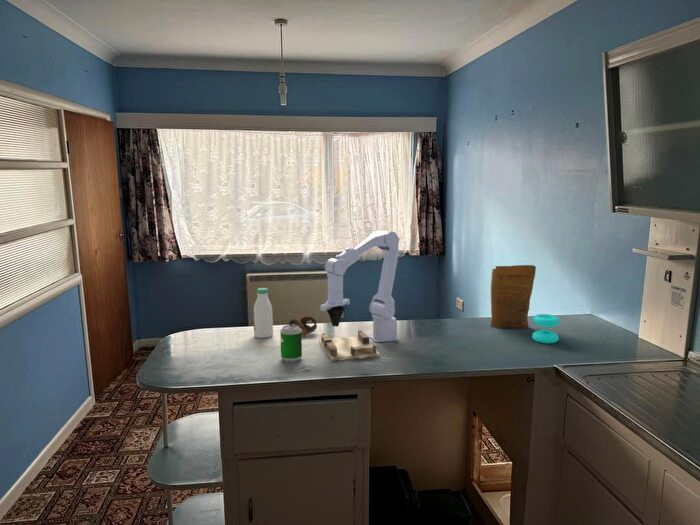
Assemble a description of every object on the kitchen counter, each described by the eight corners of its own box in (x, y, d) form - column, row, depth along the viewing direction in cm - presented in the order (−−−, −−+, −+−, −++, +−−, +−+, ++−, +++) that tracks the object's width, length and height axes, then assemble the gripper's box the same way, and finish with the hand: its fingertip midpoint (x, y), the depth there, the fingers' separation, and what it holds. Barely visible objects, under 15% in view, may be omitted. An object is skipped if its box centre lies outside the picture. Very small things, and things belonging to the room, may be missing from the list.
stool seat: (362, 338, 202) (362, 329, 201) (379, 356, 181) (379, 346, 180) (319, 342, 197) (318, 333, 196) (331, 361, 176) (331, 350, 176)
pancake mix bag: (534, 330, 214) (538, 266, 209) (489, 329, 215) (492, 265, 211) (530, 325, 220) (533, 263, 216) (486, 324, 222) (489, 263, 217)
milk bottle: (276, 334, 207) (275, 288, 204) (264, 339, 200) (262, 291, 197) (263, 332, 211) (261, 286, 208) (250, 336, 204) (248, 289, 201)
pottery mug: (315, 330, 215) (319, 316, 211) (312, 345, 208) (316, 331, 203) (288, 323, 214) (292, 309, 210) (284, 339, 207) (288, 325, 202)
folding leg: (320, 341, 194) (320, 334, 194) (327, 340, 195) (327, 334, 195) (325, 347, 187) (324, 340, 187) (331, 346, 188) (331, 339, 187)
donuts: (554, 321, 191) (529, 316, 197) (553, 346, 193) (527, 340, 199) (563, 316, 198) (538, 312, 205) (562, 340, 200) (537, 335, 206)
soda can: (305, 357, 180) (304, 325, 178) (296, 364, 173) (296, 331, 171) (286, 354, 183) (286, 323, 181) (277, 361, 176) (276, 329, 174)
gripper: (339, 286, 193) (339, 320, 195) (314, 292, 182) (314, 328, 184) (354, 288, 188) (353, 323, 190) (328, 295, 177) (328, 331, 179)
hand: (335, 325), depth 187 cm, fingers closed
